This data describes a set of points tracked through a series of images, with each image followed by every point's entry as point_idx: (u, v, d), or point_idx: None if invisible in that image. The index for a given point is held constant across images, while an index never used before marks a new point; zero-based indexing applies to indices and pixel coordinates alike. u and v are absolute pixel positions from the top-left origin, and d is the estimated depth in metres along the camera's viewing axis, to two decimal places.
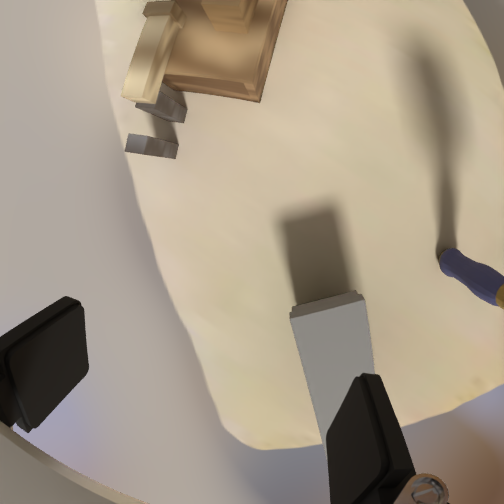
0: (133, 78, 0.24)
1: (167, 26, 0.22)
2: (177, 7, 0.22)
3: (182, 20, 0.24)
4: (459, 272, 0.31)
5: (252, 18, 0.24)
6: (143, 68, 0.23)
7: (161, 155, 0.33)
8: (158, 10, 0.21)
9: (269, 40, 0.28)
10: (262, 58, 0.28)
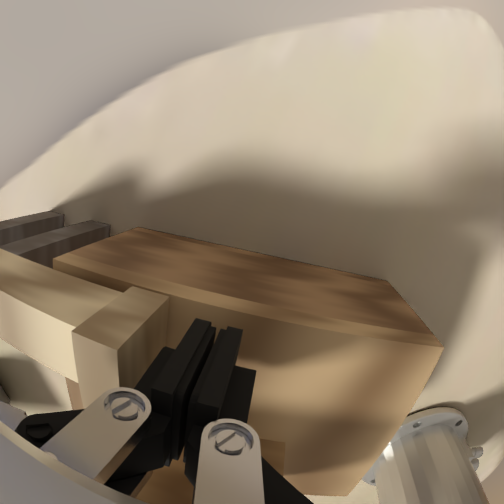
0: None
1: None
2: None
3: None
4: None
5: None
6: None
7: None
8: (83, 380, 0.08)
9: None
10: None
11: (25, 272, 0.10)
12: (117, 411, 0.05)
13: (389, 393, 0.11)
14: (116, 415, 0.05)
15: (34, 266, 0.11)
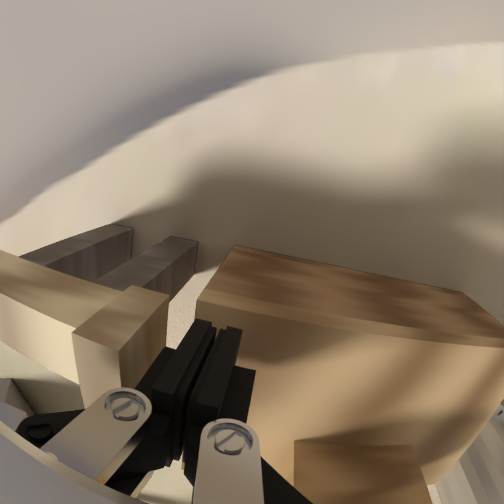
0: None
1: None
2: None
3: None
4: None
5: None
6: None
7: None
8: (84, 382, 0.07)
9: None
10: None
11: (23, 272, 0.10)
12: (117, 411, 0.05)
13: (493, 389, 0.11)
14: (116, 415, 0.05)
15: (32, 266, 0.11)
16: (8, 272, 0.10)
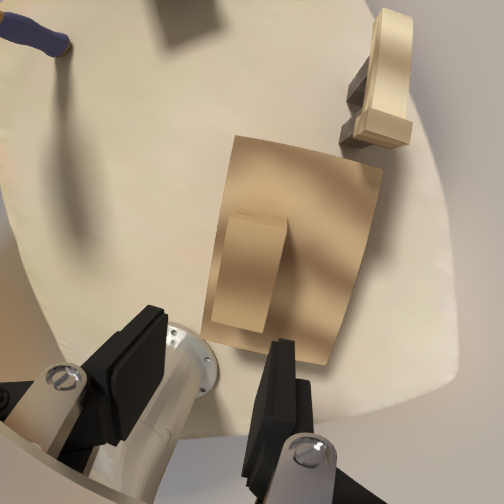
0: (401, 31, 0.15)
1: (372, 96, 0.17)
2: (362, 127, 0.18)
3: (356, 125, 0.20)
4: (44, 31, 0.23)
5: None
6: (390, 38, 0.16)
7: (358, 73, 0.24)
8: (388, 117, 0.17)
9: None
10: None
11: None
12: (58, 384, 0.05)
13: (303, 345, 0.26)
14: (58, 388, 0.05)
15: None
16: None
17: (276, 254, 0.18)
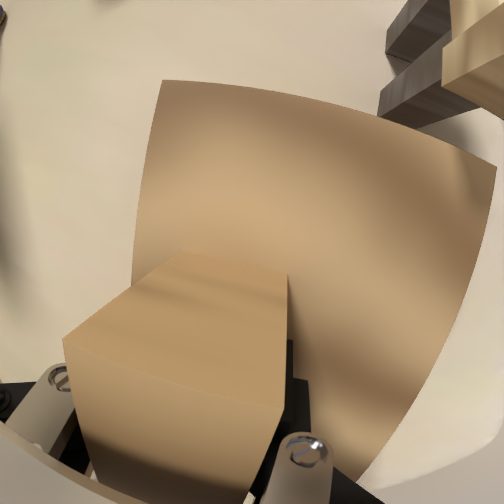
0: None
1: None
2: (489, 51, 0.04)
3: (450, 59, 0.06)
4: None
5: None
6: None
7: None
8: None
9: None
10: None
11: None
12: (60, 385, 0.05)
13: None
14: (60, 388, 0.05)
15: None
16: None
17: (240, 464, 0.04)
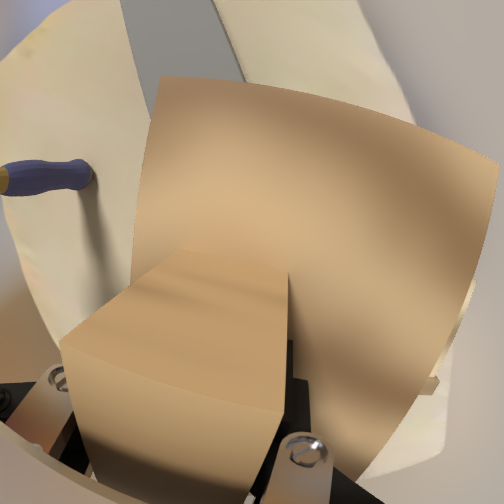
0: None
1: None
2: None
3: None
4: (62, 173, 0.28)
5: None
6: None
7: None
8: None
9: None
10: None
11: None
12: (60, 385, 0.05)
13: None
14: (60, 388, 0.05)
15: None
16: None
17: (239, 466, 0.04)
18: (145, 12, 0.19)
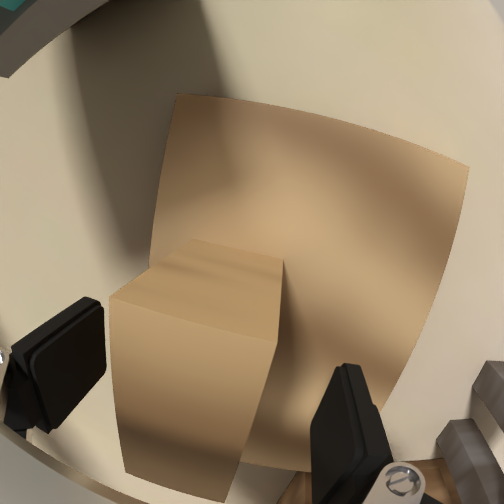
0: None
1: None
2: None
3: None
4: None
5: None
6: None
7: None
8: None
9: None
10: None
11: None
12: None
13: (305, 456, 0.14)
14: None
15: None
16: None
17: (244, 397, 0.06)
18: None
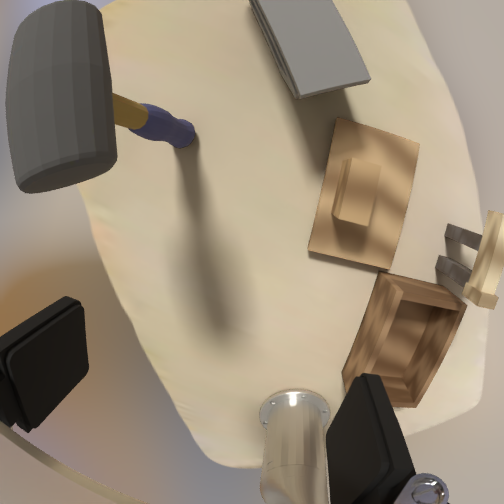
0: None
1: (482, 280, 0.27)
2: (473, 300, 0.28)
3: (466, 289, 0.30)
4: (179, 126, 0.33)
5: (339, 176, 0.37)
6: (501, 240, 0.25)
7: (463, 230, 0.33)
8: (489, 297, 0.26)
9: (373, 330, 0.37)
10: (383, 313, 0.35)
11: None
12: None
13: (376, 253, 0.38)
14: None
15: None
16: None
17: (376, 178, 0.31)
18: (279, 1, 0.24)
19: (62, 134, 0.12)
